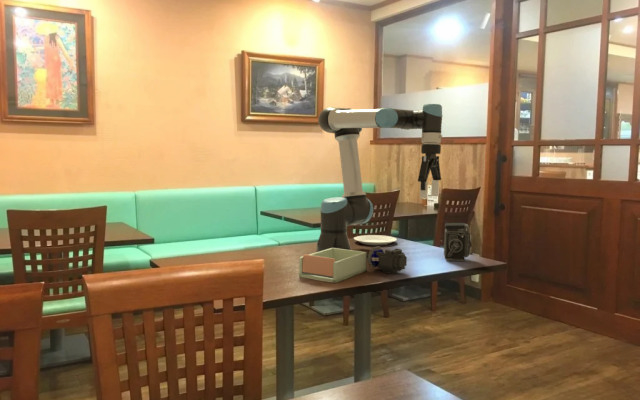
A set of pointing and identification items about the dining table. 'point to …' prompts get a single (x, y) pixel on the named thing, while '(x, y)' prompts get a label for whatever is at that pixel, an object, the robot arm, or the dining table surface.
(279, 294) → the dining table surface
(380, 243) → the plate
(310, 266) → the panel
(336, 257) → the tray
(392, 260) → the toy
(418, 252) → the dining table surface
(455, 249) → the camera
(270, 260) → the dining table surface
